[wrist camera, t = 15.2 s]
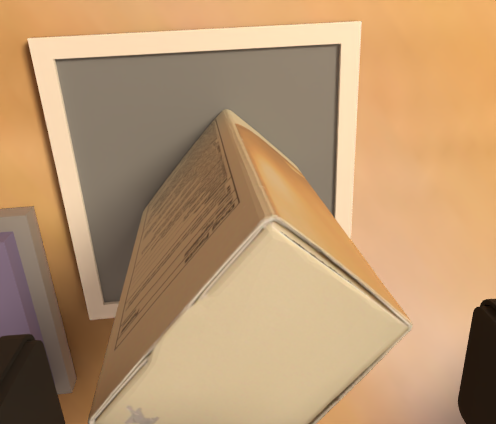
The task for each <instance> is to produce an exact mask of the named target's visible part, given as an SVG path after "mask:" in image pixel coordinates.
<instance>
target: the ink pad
mask: <svg viewBox="0 0 496 424" xmlns="http://www.w3.org/2000/svg"><path fill="white" fill-rule="evenodd" d="M20 334H32V335H33V336H34V338H35V340H41V341H42V342H43V344H44V347H45V351H46V355H47V358H48V362H49V366H50V369H51V373H52V377H53V380H54V384H55V388H56V391H57V394H66V393H72V392H73V389H74V386H75V383H76V380H77V378H76V374H75V370H74V366H73V362H72V358H71V354H70V350H69V346H68V342H67V338H66V334H65V330H64V326H63V322H62V318H61V314H60V310H59V306H58V302H57V298H56V294H55V290H54V286H53V282H52V278H51V274H50V270H49V266H48V262H47V258H46V254H45V250H44V246H43V242H42V238H41V234H40V230H39V226H38V222H37V218H36V214H35V210H34V206H32V207H19V208H6V209H0V337H2V336H7V335H20Z"/></svg>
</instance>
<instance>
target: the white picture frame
mask: <svg viewBox="0 0 496 424" xmlns="http://www.w3.org/2000/svg"><path fill="white" fill-rule="evenodd" d="M361 23H362V21H348V22H329V23H309V24H290V25H270V26H251V27H231V28H212V29H192V30H173V31H153V32H134V33H114V34H95V35H76V36H56V37H37V38H27V39H28V44H29V48H30V53H31V57H32V62H33V66H34V71H35V75H36V80H37V84H38V89H39V93H40V98H41V102H42V107H43V111H44V116H45V121H46V125H47V130H48V134H49V139H50V143H51V148H52V152H53V157H54V161H55V166H56V170H57V175H58V179H59V184H60V188H61V193H62V197H63V202H64V206H65V211H66V215H67V220H68V224H69V229H70V233H71V238H72V242H73V247H74V251H75V256H76V260H77V265H78V270H79V274H80V279H81V283H82V288H83V292H84V297H85V301H86V306H87V310H88V315H89V319H90V320H96V319H107V318H115V316H116V312H117V308H118V304H119V301H120V297H121V293H122V290H123V286H124V282H125V278H126V274H127V271H128V267H129V263H130V259H131V256H132V252H133V248H134V244H135V240H136V236H137V232H138V229H139V225H140V221H141V217H142V213H143V211H144V209H145V208H146V206H147V205H148V204H149V202H150V201H151V200H152V198H153V197H154V195H155V194H156V193H157V191H158V190H159V189H160V187H161V186H162V185H163V183H164V182H165V181H166V179H167V178H168V177H169V175H170V174H171V173H172V172H173V170H174V169H175V168H176V166H177V165H178V164H179V163H180V161H181V160H182V159H183V157H184V156H185V155H186V154H187V152H188V151H189V150H190V149H191V147H192V146H193V145H194V144H195V142H196V141H197V140H198V139H199V138H200V136H201V135H202V134H203V133H204V131H205V130H206V129H207V128H208V127H209V125H210V124H211V123H212V122H213V121H214V120H215V118H216V117H217V116H218V115H219V114H220V113H221V112H222V111H223V110H224V109H228V110H231V111H232V112H233V113H235V114H236V115H237V116H238V117H240V118H241V119H242V120H243V121H245V122H246V123H247V124H248V125H250V126H251V127H252V128H253V129H255V130H256V131H257V132H258V133H259V134H260V135H262V136H263V137H264V138H265V139H266V140H267V141H269V142H270V143H271V144H272V145H273V146H274V147H276V148H277V149H278V150H279V151H280V152H281V153H283V154H284V155H285V156H286V157H287V158H288V159H289V160H290V161H292V162H293V163H294V164H295V165H296V166H297V167H298V169H299V170H300V172H301V173H302V174H303V176H304V177H305V179H306V180H307V181H308V183H309V184H310V185H311V187H312V188H313V189H314V191H315V192H316V193H317V195H318V196H319V198H320V199H321V200H322V202H323V203H324V204H325V205H326V207H327V208H328V210H329V211H330V212H331V214H332V215H333V216H334V218H335V219H336V221H337V222H338V223H339V225H340V226H341V227H342V229H343V230H344V231H345V233H346V234H347V235H348V237H349V238H350V240H351V225H352V205H353V185H354V164H355V144H356V124H357V104H358V83H359V63H360V43H361Z"/></svg>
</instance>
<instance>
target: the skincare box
mask: <svg viewBox="0 0 496 424" xmlns="http://www.w3.org/2000/svg"><path fill="white" fill-rule="evenodd" d="M412 325H413V324H412V323H411V321H410V319H409V318H408V317H407V315H406V314H405V313H404V311H403V310H402V309H401V307H400V306H399V305H398V303H397V302H396V301H395V299H394V298H393V297H392V295H391V294H390V293H389V291H388V290H387V289H386V287H385V286H384V285H383V283H382V282H381V281H380V279H379V278H378V277H377V275H376V274H375V272H374V271H373V270H372V268H371V267H370V265H369V264H368V263H367V261H366V260H365V259H364V257H363V256H362V255H361V253H360V252H359V250H358V249H357V248H356V246H355V245H354V244H353V242H352V241H351V240H350V238H349V237H348V235H347V234H346V233H345V231H344V230H343V229H342V227H341V226H340V225H339V223H338V222H337V221H336V219H335V218H334V216H333V215H332V214H331V212H330V211H329V210H328V208H327V207H326V205H325V204H324V203H323V202H322V200H321V199H320V198H319V196H318V195H317V193H316V192H315V191H314V189H313V188H312V187H311V185H310V184H309V183H308V181H307V180H306V179H305V177H304V176H303V174H302V173H301V172H300V170H299V169H298V167H297V166H296V165H295V164H294V163H293V162H292V161H290V160H289V159H288V158H287V157H286V156H285V155H284V154H283V153H281V152H280V151H279V150H278V149H277V148H276V147H274V146H273V145H272V144H271V143H270V142H269V141H267V140H266V139H265V138H264V137H263V136H262V135H260V134H259V133H258V132H257V131H256V130H255V129H253V128H252V127H251V126H250V125H248V124H247V123H246V122H245V121H243V120H242V119H241V118H240V117H238V116H237V115H236V114H235V113H233V112H232V111H231V110H228V109H224V110H223V111H222V112H221V113H220V114H219V115H218V116H217V117H216V118H215V120H214V121H213V122H212V123H211V124H210V125H209V127H208V128H207V129H206V130H205V131H204V133H203V134H202V135H201V136H200V138H199V139H198V140H197V141H196V142H195V144H194V145H193V146H192V147H191V149H190V150H189V151H188V152H187V154H186V155H185V156H184V157H183V159H182V160H181V161H180V163H179V164H178V165H177V166H176V168H175V169H174V170H173V172H172V173H171V174H170V175H169V177H168V178H167V179H166V181H165V182H164V183H163V185H162V186H161V187H160V189H159V190H158V191H157V193H156V194H155V195H154V197H153V198H152V200H151V201H150V202H149V204H148V205H147V206H146V208H145V209H144V211H143V213H142V217H141V221H140V225H139V229H138V232H137V236H136V240H135V244H134V248H133V252H132V256H131V259H130V263H129V267H128V271H127V274H126V278H125V282H124V286H123V290H122V293H121V297H120V301H119V304H118V308H117V312H116V316H115V319H114V323H113V327H112V331H111V335H110V338H109V342H108V346H107V349H106V353H105V357H104V361H103V365H102V369H101V372H100V376H99V380H98V384H97V388H96V392H95V395H94V400H93V404H92V407H91V411H90V414H89V418H88V424H316V423H317V422H318V421H320V420H321V419H322V418H323V417H324V416H325V415H326V414H327V413H328V412H329V411H330V410H331V409H332V408H333V407H334V406H335V405H336V404H337V403H338V402H339V401H340V400H341V399H342V398H343V397H344V396H345V395H346V394H347V393H348V392H349V391H351V389H352V388H353V387H354V386H355V385H356V384H357V383H358V382H360V381H361V380H362V379H363V378H364V377H365V376H366V375H367V374H368V373H369V372H370V371H371V369H372V368H373V367H374V366H375V365H376V364H377V363H378V362H379V361H380V360H382V359H383V358H384V356H385V355H386V354H387V353H388V352H389V351H390V350H391V349H392V348H393V347H394V346H395V345H396V344H397V343H398V342H399V341H400V340H401V339H402V338H403V337H404V336H405V335H406V334H407V333H408V332H409V331H410V330H411V329H412Z"/></svg>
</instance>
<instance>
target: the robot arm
mask: <svg viewBox="0 0 496 424" xmlns="http://www.w3.org/2000/svg"><path fill="white" fill-rule="evenodd" d="M458 406H459V410H460V413H461V416H462V418H463V419H464V421H465V423H466V424H496V299H486V300H484V301H483V302H482V303H481V305H480V307H476V308H475V309H474V312H473V317H472V323H471V328H470V334H469V340H468V345H467V351H466V357H465V363H464V368H463V374H462V380H461V385H460V391H459V397H458ZM0 424H65V421H64V417H63V413H62V410H61V406H60V402H59V399H58V395H57V391H56V388H55V384H54V380H53V377H52V373H51V369H50V366H49V362H48V358H47V355H46V351H45V347H44V344H43V342H42V341H41V340H35V338H34V336H33V335H32V334H20V335H7V336H2V337H0Z"/></svg>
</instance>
